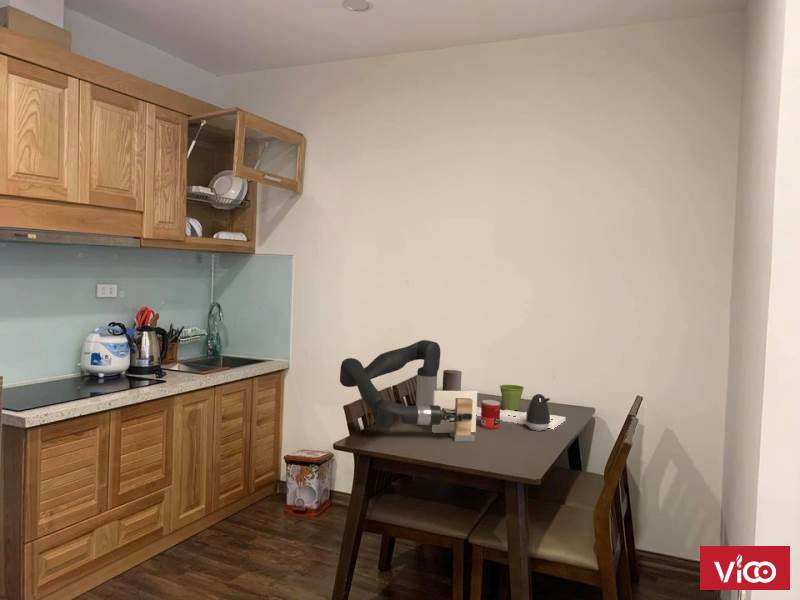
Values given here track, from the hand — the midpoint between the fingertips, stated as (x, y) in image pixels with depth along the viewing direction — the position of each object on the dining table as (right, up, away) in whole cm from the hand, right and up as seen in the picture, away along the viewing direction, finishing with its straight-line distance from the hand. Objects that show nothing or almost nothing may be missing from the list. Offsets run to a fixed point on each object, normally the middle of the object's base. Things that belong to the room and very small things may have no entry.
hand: (470, 415), depth 244 cm
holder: (+23, -9, +39) cm, 47 cm away
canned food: (+11, -9, +20) cm, 24 cm away
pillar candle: (-1, -6, +80) cm, 80 cm away
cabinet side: (-5, -9, +3) cm, 11 cm away
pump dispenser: (+31, -10, +19) cm, 38 cm away
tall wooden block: (-3, -8, 0) cm, 9 cm away
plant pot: (+26, -8, +55) cm, 61 cm away
